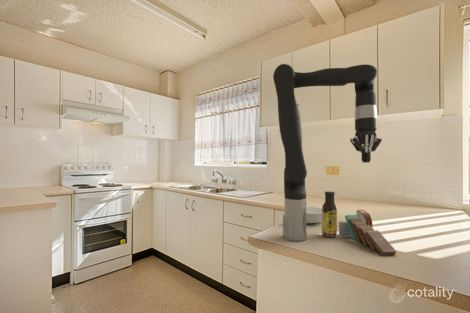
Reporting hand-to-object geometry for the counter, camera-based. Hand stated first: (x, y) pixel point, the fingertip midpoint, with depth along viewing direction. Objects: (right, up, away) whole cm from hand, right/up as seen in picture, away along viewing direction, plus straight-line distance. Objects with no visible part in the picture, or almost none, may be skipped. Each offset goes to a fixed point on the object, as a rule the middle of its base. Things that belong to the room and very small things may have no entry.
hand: (366, 162), depth 89 cm
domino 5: (+4, -32, -8) cm, 33 cm away
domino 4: (+3, -32, -4) cm, 33 cm away
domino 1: (+2, -33, +8) cm, 34 cm away
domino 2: (+2, -33, +5) cm, 33 cm away
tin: (+13, -34, +25) cm, 44 cm away
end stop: (+1, -33, +14) cm, 36 cm away
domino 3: (+3, -32, 0) cm, 32 cm away
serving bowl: (-11, -34, +37) cm, 52 cm away
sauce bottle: (-9, -33, +13) cm, 37 cm away
